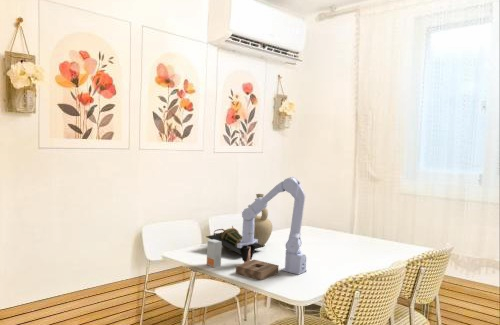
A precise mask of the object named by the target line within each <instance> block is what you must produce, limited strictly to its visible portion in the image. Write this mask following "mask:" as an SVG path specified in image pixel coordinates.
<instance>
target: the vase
mask: <svg viewBox="0 0 500 325" xmlns="http://www.w3.org/2000/svg"><path fill="white" fill-rule="evenodd" d="M255 195H256V198H259V197H264V196H265V194H263V193H256V194H255ZM268 216H269V211H268V208H267V207H266V208H264V209H263V210H262V211H261V215H258V214H257V215H256V217H255V219H254V239H258V244H260V245H262V246H265V244H266V243H267V242H268V241H269V239H270V237H271V235H272V232H273V222H272V221H271V219H269V218H268Z"/></svg>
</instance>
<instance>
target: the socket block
mask: <svg viewBox="0 0 500 325" xmlns="http://www.w3.org/2000/svg"><path fill="white" fill-rule="evenodd" d="M278 273H279V265H278V264H274V263H270V262H266V261H261V260H258V259H251V260H250V261H248V262H245V263H244V262H242V263H240V264H237V265H235V274H237V275H241V276H244V277H248V278H252V279H256V280H259V281H263V280H266V279H268V278H270V277H272V276H274V275H277V274H278Z"/></svg>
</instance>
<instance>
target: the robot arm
mask: <svg viewBox="0 0 500 325" xmlns="http://www.w3.org/2000/svg"><path fill="white" fill-rule="evenodd" d="M284 192H286V193H288V194H290V195H291V197H292V198H294V202H293V211H292V214H291V215H292V218H291V223H290V224H291V225H290V229H289V230H290V231H289V235H288V239H287V241H286V243H285V257H284V258H285V262H284V267H283V268H281V271H283V272H286V273H291V274H294V275H301V274H303V273H305V272H307V256H306V254H305V253H302V250H301V247H302V239H301V238H302V237H301V235H302V234H301V229H302V223H303V216H304V209H305V201H306V193H305V190H303V187H302V185H301V182H300V181H299V180H298V179H297V177H294V176H292V177H291V176H290V177H287V178H284V179H283V181H280V182H279V183H277V184H276V185H275V186H274V187H273V188H272V189H271V190H269V192H267V194H266V195H265V194H264V196H263V197H259V198H257V197H255V198H254V201H253V202H252V203H251V204H248V205H247V207H246V208H244V209H243V211H242V212H241V217H242V231H241V232H242V234H241V236H242V240H240V243H237V248H239V250H240V252H241V254H240V255H241V258H242V261H243V262H244V261H247V257H248V252H249V249H250V248H248V247H247V246H250V247H251V252H250V261H251V260H253V257H254V256H253V255H254V252H255V250H257V249H256V247H257V245H255V244H254V243H258V239H254V219H255V217H256V215H257V216H258V215H259V214H261V213H262V210H263V209H264V208H267V207H268V203H269V202H270V201H271V200H272V199H274V197H276V196H277V195H279V193H284Z"/></svg>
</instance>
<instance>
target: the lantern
mask: <svg viewBox="0 0 500 325" xmlns="http://www.w3.org/2000/svg"><path fill="white" fill-rule="evenodd" d="M218 231H221V232H218ZM215 232H216V233H215ZM205 237H206V238H208V240H213V239H215V240H218V241H221V242H222V246H221V247H222V249H225V250H229V251H232V252H235V253H237V254H239V255H241V252H240V250H239V248H237V243H240V240H242V234H240V233H239V230H238V229H236V228H234V226H233V225H232V226H231V227H230V228H227V229H223V228H219V229H215V230H214V231H213V234H211V235H207V236H205ZM254 244H255V245H257V247H256V249H255V250H258V249H259V248H264V247H265V245H260V244H258V243H254Z"/></svg>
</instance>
